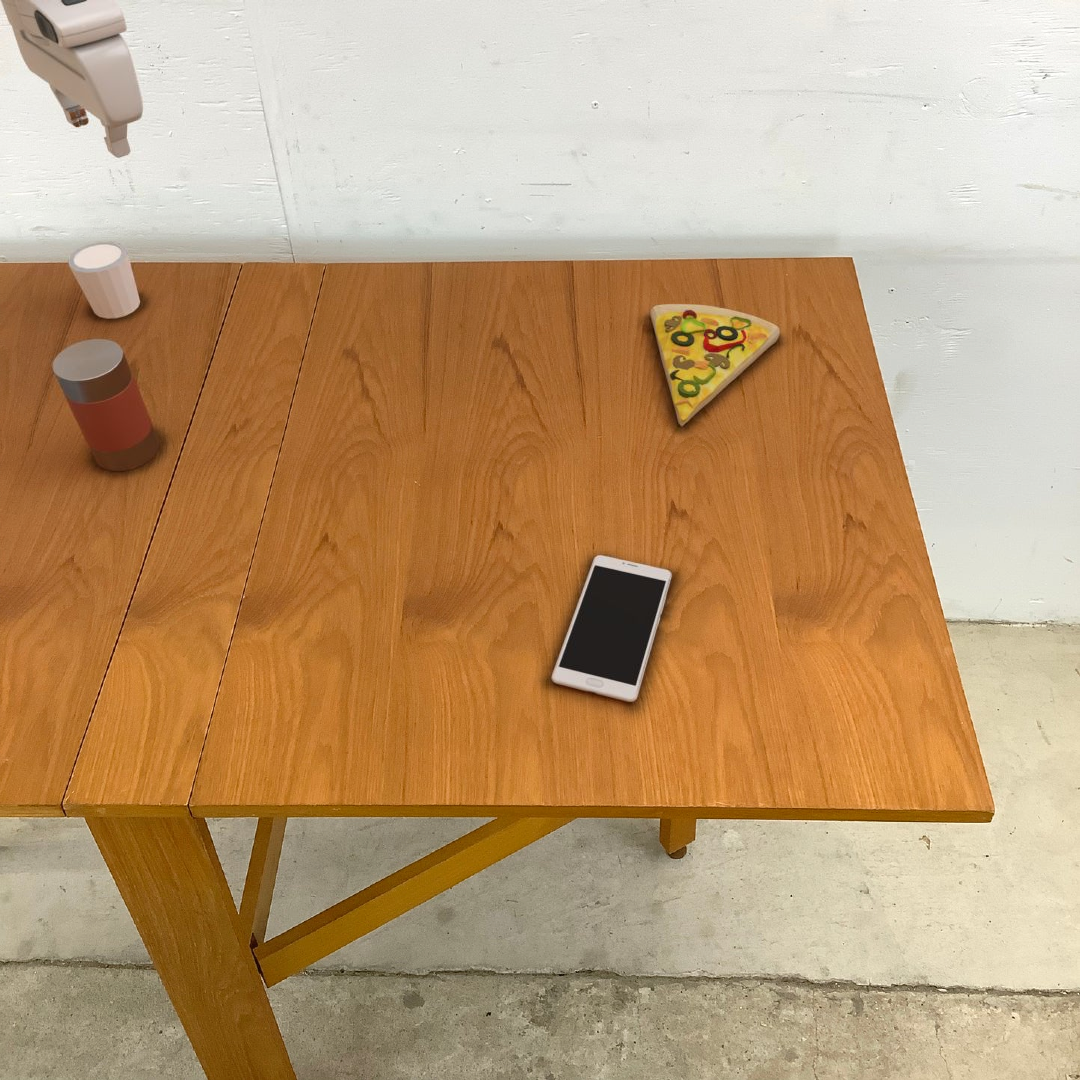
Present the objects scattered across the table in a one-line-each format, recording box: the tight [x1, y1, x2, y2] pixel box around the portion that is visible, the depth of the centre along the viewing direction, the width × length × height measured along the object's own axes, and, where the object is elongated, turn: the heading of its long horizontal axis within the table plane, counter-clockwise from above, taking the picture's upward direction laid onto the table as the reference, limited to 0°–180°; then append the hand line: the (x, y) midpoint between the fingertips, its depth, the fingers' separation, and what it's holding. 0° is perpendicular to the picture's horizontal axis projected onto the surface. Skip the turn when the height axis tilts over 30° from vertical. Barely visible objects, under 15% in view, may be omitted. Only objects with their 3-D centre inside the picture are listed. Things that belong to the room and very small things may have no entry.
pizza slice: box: [649, 303, 781, 427], centre depth 111 cm, size 16×21×3 cm
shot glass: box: [67, 241, 141, 319], centre depth 120 cm, size 7×7×7 cm
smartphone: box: [551, 554, 673, 703], centre depth 87 cm, size 8×1×15 cm
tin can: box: [52, 338, 160, 472], centre depth 100 cm, size 7×7×12 cm
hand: (99, 138), depth 104 cm, fingers open, 8 cm apart
